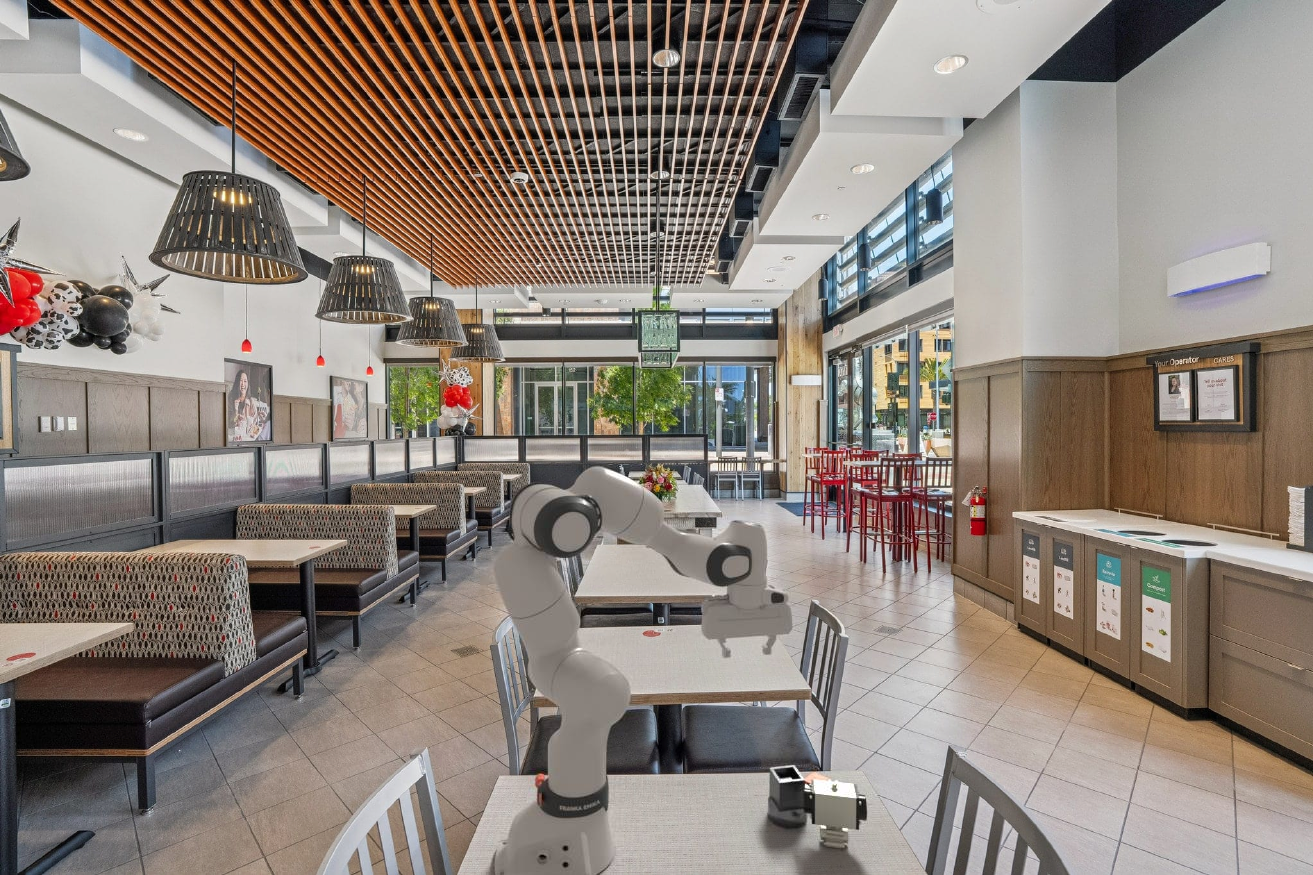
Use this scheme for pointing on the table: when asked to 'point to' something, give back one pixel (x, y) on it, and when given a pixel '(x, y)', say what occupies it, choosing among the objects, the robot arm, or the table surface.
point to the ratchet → (791, 817)
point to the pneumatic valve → (834, 810)
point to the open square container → (786, 788)
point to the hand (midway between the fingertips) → (746, 655)
